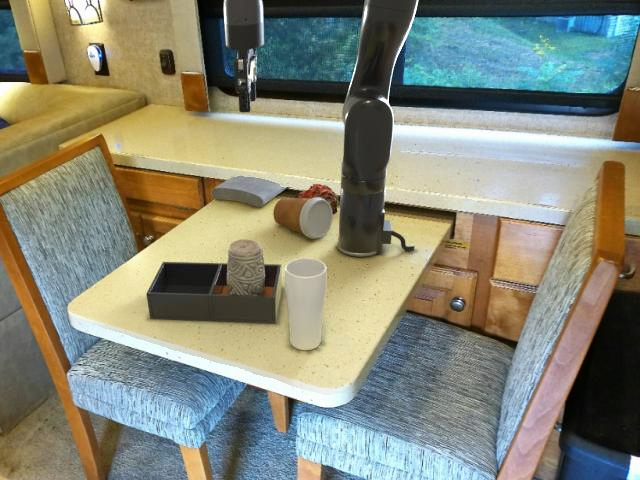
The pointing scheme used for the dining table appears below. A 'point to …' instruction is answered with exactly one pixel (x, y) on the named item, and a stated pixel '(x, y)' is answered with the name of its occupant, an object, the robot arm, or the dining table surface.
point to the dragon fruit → (321, 195)
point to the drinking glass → (305, 301)
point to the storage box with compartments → (210, 294)
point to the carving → (245, 268)
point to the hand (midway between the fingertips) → (247, 106)
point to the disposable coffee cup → (304, 215)
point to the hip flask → (248, 190)
